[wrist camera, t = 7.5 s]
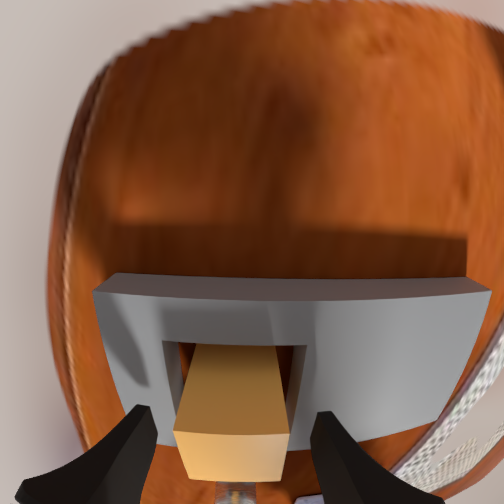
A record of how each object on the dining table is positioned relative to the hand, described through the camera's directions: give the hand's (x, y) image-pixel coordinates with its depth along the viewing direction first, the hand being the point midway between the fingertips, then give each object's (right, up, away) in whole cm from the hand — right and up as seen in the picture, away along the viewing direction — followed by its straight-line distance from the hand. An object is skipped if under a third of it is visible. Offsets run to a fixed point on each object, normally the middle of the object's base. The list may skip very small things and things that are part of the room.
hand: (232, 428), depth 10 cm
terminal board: (+4, +1, +4) cm, 6 cm away
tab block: (0, +1, +4) cm, 4 cm away
